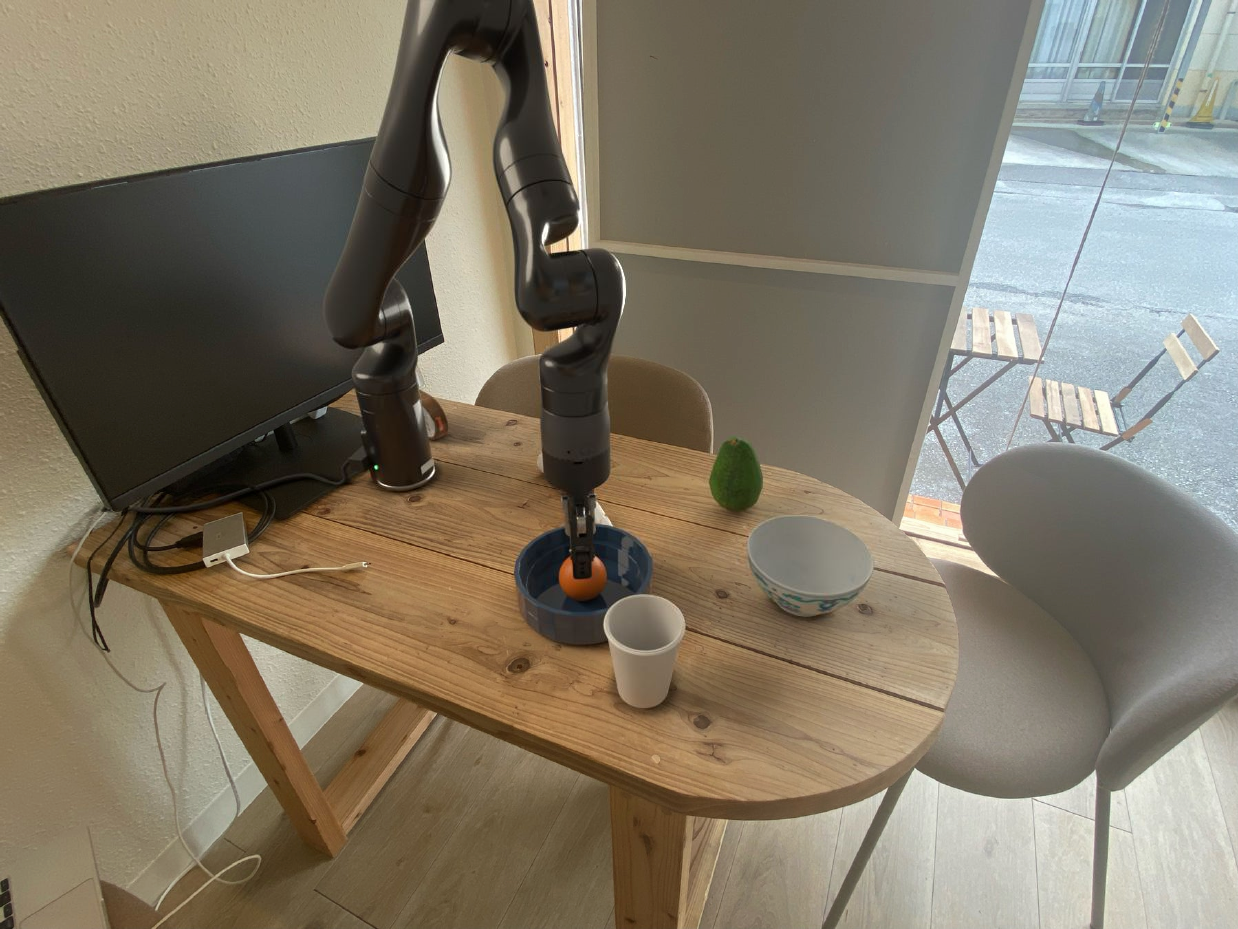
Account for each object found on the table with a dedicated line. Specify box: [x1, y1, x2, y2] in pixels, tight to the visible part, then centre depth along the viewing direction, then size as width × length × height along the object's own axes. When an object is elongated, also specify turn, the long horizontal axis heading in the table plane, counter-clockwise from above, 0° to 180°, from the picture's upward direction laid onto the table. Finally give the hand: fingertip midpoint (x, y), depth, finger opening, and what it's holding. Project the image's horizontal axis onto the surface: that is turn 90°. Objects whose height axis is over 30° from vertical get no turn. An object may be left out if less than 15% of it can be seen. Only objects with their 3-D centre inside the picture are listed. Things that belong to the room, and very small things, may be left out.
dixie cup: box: [604, 594, 686, 709], centre depth 68 cm, size 8×8×10 cm
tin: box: [419, 388, 450, 441], centre depth 118 cm, size 15×3×8 cm, turn 47°
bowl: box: [513, 523, 654, 645], centre depth 81 cm, size 17×17×6 cm
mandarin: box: [559, 556, 607, 601], centre depth 80 cm, size 6×6×6 cm
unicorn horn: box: [536, 451, 615, 527], centre depth 98 cm, size 5×24×5 cm, turn 27°
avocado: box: [708, 436, 764, 512], centre depth 96 cm, size 8×8×12 cm
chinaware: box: [746, 514, 875, 618], centre depth 80 cm, size 15×15×8 cm
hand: (580, 553), depth 78 cm, fingers open, 8 cm apart
